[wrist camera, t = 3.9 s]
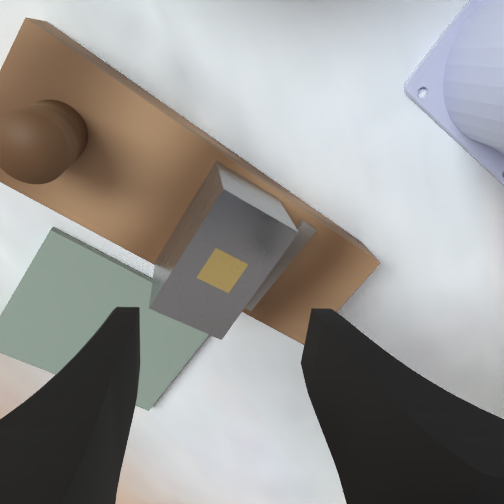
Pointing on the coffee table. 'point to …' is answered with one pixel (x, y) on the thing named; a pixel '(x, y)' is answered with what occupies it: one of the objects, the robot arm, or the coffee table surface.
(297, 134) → the coffee table surface
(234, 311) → the grey rectangular block
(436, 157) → the coffee table surface
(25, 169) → the plane body
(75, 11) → the coffee table surface
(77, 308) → the mat
